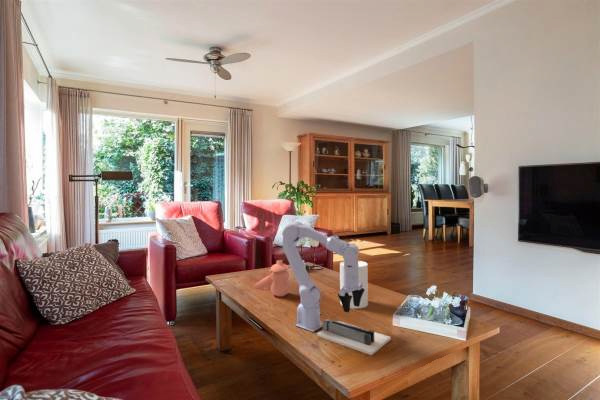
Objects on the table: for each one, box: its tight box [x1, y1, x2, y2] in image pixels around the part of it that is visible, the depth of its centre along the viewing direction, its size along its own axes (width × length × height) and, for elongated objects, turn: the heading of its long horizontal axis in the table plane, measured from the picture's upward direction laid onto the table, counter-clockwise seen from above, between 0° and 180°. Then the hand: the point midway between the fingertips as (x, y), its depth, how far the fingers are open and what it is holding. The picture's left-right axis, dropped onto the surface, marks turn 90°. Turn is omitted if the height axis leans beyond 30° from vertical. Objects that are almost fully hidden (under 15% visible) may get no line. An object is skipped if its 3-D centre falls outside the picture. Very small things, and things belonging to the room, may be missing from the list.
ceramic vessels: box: [253, 259, 290, 297], centre depth 191 cm, size 35×21×19 cm, turn 19°
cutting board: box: [316, 320, 392, 356], centre depth 128 cm, size 24×15×1 cm, turn 50°
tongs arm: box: [331, 320, 375, 342], centre depth 128 cm, size 18×1×4 cm, turn 52°
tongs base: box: [322, 318, 371, 346], centre depth 128 cm, size 21×3×4 cm, turn 50°
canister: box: [339, 260, 369, 309], centre depth 165 cm, size 14×14×20 cm
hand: (351, 308), depth 133 cm, fingers open, 7 cm apart
